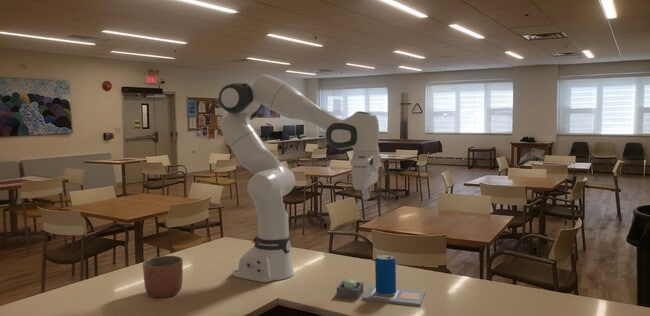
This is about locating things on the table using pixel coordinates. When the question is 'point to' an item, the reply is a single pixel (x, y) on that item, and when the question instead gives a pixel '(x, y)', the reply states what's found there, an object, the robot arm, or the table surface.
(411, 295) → the picture board
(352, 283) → the button
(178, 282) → the planter
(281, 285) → the table surface
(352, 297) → the button housing
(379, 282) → the beverage can
